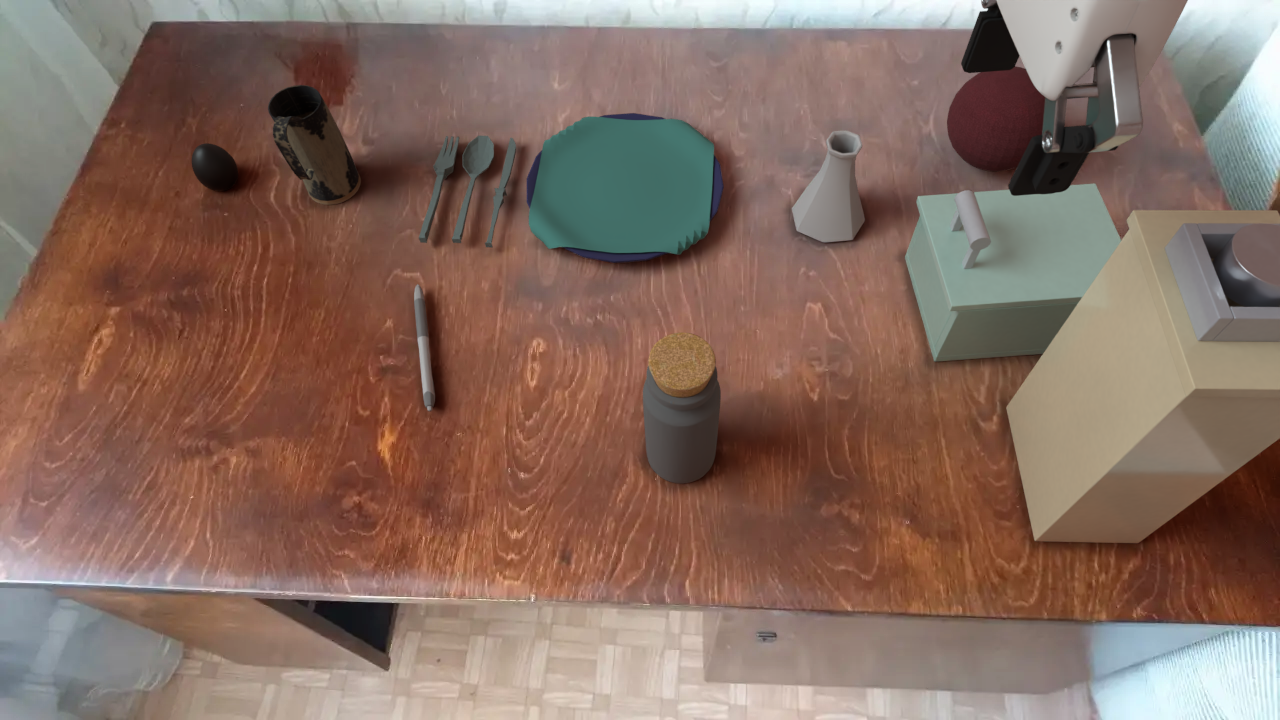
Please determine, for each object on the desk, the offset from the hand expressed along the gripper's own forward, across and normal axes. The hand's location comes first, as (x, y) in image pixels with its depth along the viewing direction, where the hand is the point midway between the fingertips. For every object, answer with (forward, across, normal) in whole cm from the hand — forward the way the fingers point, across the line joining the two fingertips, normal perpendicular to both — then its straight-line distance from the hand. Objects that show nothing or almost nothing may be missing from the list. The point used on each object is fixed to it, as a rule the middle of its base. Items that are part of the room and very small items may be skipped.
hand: (1010, 126), depth 50 cm
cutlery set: (+31, +25, +27) cm, 48 cm away
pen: (+31, +7, +42) cm, 52 cm away
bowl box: (+30, +7, -11) cm, 33 cm away
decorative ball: (+31, +25, -15) cm, 43 cm away
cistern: (+30, -10, -12) cm, 34 cm away
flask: (+31, +19, +2) cm, 36 cm away
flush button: (+3, -10, -12) cm, 16 cm away
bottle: (+30, -6, +19) cm, 36 cm away
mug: (+31, +28, +52) cm, 67 cm away
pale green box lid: (+22, +7, -11) cm, 26 cm away
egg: (+31, +30, +64) cm, 77 cm away
